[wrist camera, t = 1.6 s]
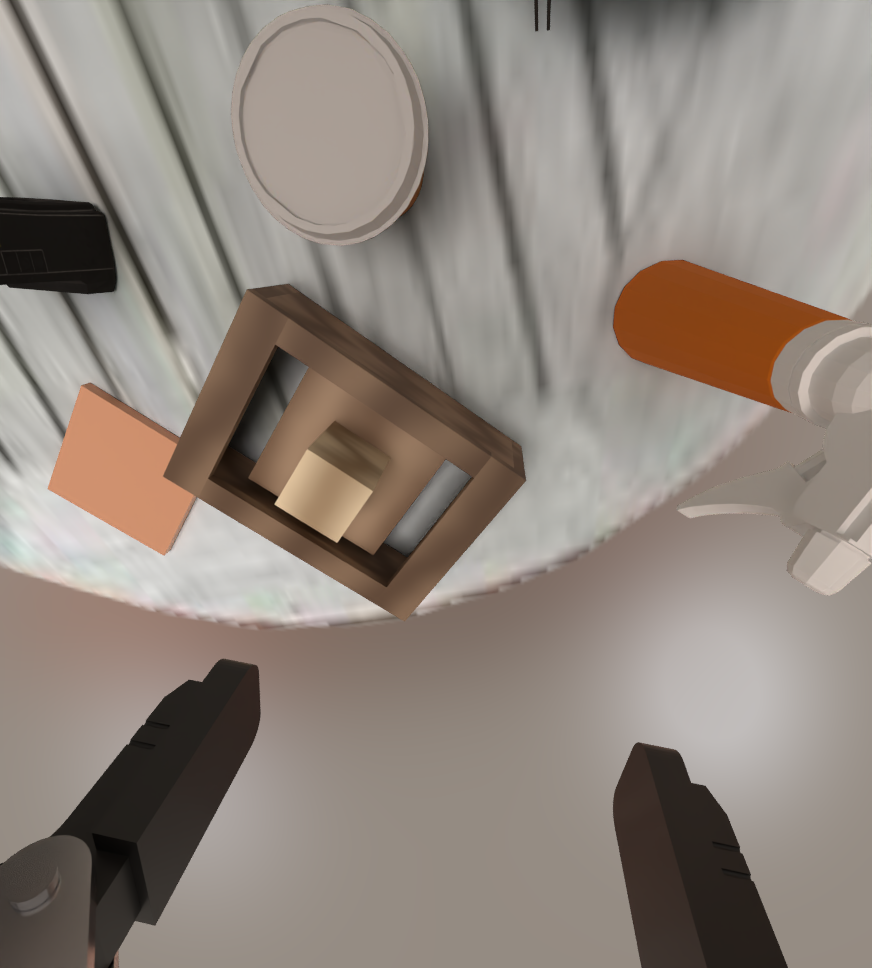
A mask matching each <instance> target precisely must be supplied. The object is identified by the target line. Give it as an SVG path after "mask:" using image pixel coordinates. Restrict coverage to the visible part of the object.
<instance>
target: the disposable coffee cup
mask: <svg viewBox="0 0 872 968" xmlns="http://www.w3.org/2000/svg"><path fill="white" fill-rule="evenodd" d="M231 119H232V128H233V135H234V141H235V146H236V150H237V153H238V156H239V159H240V162H241V165H242V167H243V170H244V172H245V174H246V177H247V179H248V181H249V183H250V185H251V187H252V189H253V191H254V192H255V194H256V195H257V197H258V198H259V200H260V201H261V203H262V204H263V206H264V207H265V208H266V209H267V210H268V211H269V212H270V213H271V215H272V216H273V217H274V218H275V219H276V220H277V221H279V222H280V223H281V224H282V225H284V226H285V227H286V228H287V229H289V230H290V231H292V232H294V233H296V234H297V235H299V236H301V237H303V238H305V239H308V240H311V241H314V242H317V243H320V244H328V245H340V246H343V245H349V244H355V243H360V242H363V241H365V240H368V239H371V238H373V237H375V236H377V235H378V234H380V233H381V232H383V231H384V230H386V229H387V228H388V227H389V226H391V225H392V224H393V223H394V222H395V221H396V220H397V219H398V218H399V217H400V216H402V215H403V214H404V213H406V212H407V211H408V210H409V209H410V208H411V207H412V206H413V204H414V202H415V201H416V199H417V197H418V195H419V192H420V190H421V187H422V182H423V176H424V167H425V163H426V158H427V154H428V118H427V112H426V105H425V100H424V97H423V93H422V90H421V86H420V83H419V80H418V78H417V75H416V73H415V71H414V69H413V67H412V64H411V63H410V61H409V60H408V58H407V56H406V55H405V53H404V51H403V50H402V49H401V47H400V46H399V45H398V44H397V43H396V41H395V40H394V39H393V38H392V36H391V35H390V34H389V33H388V32H387V31H386V30H384V29H383V28H382V27H381V26H379V25H378V24H377V23H375V22H374V21H373V20H372V19H370V18H368V17H366V16H364V15H362V14H360V13H358V12H356V11H354V10H352V9H349V8H344V7H338V6H333V5H328V4H327V5H315V6H306V7H303V8H299V9H296V10H292V11H289V12H287V13H284V14H282V15H280V16H278V17H277V18H275V19H274V20H273V21H272V22H270V23H269V24H268V25H266V26H265V27H264V28H263V29H262V30H261V31H260V32H259V33H258V35H257V36H256V37H255V38H254V40H253V41H252V42H251V43H250V45H249V47H248V48H247V50H246V52H245V54H244V56H243V57H242V60H241V63H240V65H239V68H238V71H237V73H236V77H235V82H234V87H233V92H232V106H231Z"/></svg>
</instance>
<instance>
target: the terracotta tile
mask: <svg viewBox="0 0 872 968" xmlns="http://www.w3.org/2000/svg"><path fill="white" fill-rule="evenodd" d="M179 439H180V438H179V437H177V436H176V435H174V434H172V433H171V432H169V431H168V430H166V429H164V428H163V427H161V426H159V425H158V424H156V423H155V422H153V421H151V420H150V419H148V418H146V417H145V416H143V415H142V414H140V413H138V412H137V411H135V410H134V409H132V408H130V407H129V406H127V405H125V404H124V403H122V402H121V401H119V400H117V399H116V398H114V397H112V396H111V395H109V394H108V393H106V392H104V391H103V390H101V389H99V388H98V387H96V386H95V385H93V384H91V383H88V384H85V385H82V386H81V388H80V391H79V394H78V397H77V400H76V403H75V407H74V410H73V413H72V416H71V419H70V422H69V425H68V428H67V431H66V434H65V437H64V440H63V443H62V446H61V449H60V452H59V456H58V459H57V462H56V465H55V468H54V471H53V474H52V477H51V480H50V483H49V486H48V489H49V490H50V491H52V492H54V493H56V494H57V495H59V496H61V497H63V498H64V499H66V500H68V501H70V502H71V503H73V504H75V505H76V506H78V507H80V508H82V509H83V510H85V511H87V512H89V513H90V514H92V515H94V516H96V517H97V518H99V519H101V520H103V521H104V522H106V523H108V524H110V525H111V526H113V527H115V528H117V529H118V530H120V531H122V532H124V533H125V534H127V535H129V536H131V537H132V538H134V539H136V540H138V541H139V542H141V543H143V544H145V545H146V546H148V547H150V548H152V549H153V550H155V551H157V552H159V553H160V554H162V555H165V554H166V553H168V552H169V551H170V550H171V548H172V546H173V544H174V542H175V540H176V538H177V536H178V534H179V532H180V530H181V528H182V526H183V524H184V522H185V520H186V518H187V516H188V514H189V512H190V510H191V508H192V506H193V504H194V502H195V500H196V498H197V497H196V496H194V495H193V494H191V493H189V492H188V491H186V490H184V489H183V488H181V487H179V486H178V485H176V484H174V483H173V482H171V481H169V480H168V479H166V478H164V477H163V475H164V472H165V470H166V468H167V466H168V464H169V461H170V459H171V457H172V455H173V452H174V450H175V448H176V446H177V444H178V441H179Z"/></svg>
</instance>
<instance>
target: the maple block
mask: <svg viewBox="0 0 872 968" xmlns="http://www.w3.org/2000/svg"><path fill="white" fill-rule="evenodd" d="M390 458H391V457H389V456H388V455H386V454H385V453H383V452H382V451H380V450H379V449H377V448H375V447H374V446H372V445H371V444H369V443H368V442H366V441H365V440H363V439H362V438H360V437H359V436H357V435H356V434H354V433H353V432H351V431H350V430H348V429H347V428H345V427H344V426H342V425H341V424H339V423H337V422H336V421H334V422H333V423H332V424H331V425H330V426H329V427H328V428H327V429H326V430H325V431H324V432H323V433H322V434H321V435H320V436H319V437H318V438H317V439H316V441H315V442H314V443H313V444H312V445H311V446H310V447H309V448H308V449H307V450H306V452H305V454H304V455H303V457H302V459H301V460H300V462H299V464H298V465H297V467H296V469H295V471H294V472H293V474H292V476H291V477H290V479H289V481H288V482H287V484H286V486H285V487H284V489H283V491H282V492H281V494H280V496H279V497H278V499H277V501H276V502H275V504H274V505H276V506H278V507H279V508H281V509H283V510H284V511H286V512H287V513H289V514H291V515H292V516H294V517H296V518H297V519H299V520H300V521H302V522H304V523H305V524H307V525H309V526H310V527H312V528H314V529H315V530H317V531H318V532H320V533H322V534H323V535H325V536H327V537H328V538H330V539H331V540H333V541H335V542H336V543H337V542H338V541H339V539H340V538H341V537H342V535H343V534H344V532H345V531H346V529H347V528H348V527H349V525H350V524H351V522H352V521H353V519H354V518H355V517H356V515H357V514H358V512H359V511H360V509H361V508H362V507H363V505H364V504H365V502H366V501H367V499H368V498H369V497H370V495H371V494H372V492H373V491H374V489H375V487H376V485H377V483H378V481H379V479H380V477H381V475H382V473H383V471H384V469H385V467H386V465H387V463H388V461H389V459H390Z"/></svg>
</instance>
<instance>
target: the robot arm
mask: <svg viewBox="0 0 872 968" xmlns="http://www.w3.org/2000/svg"><path fill="white" fill-rule="evenodd" d="M259 721H260V690H259V670H258V667H257V666H256V665H253V664H248V663H243V662H238V661H233V660H228V659H221V660H219V661H218V662H217V663H216V664H215V665H214V667H213V668H212V669H211V671H210V672H209V674H208V675H207V676H206V678H205V679H204V680H203V682H198V681H193V680H188V681H187V682H185V683H184V684H182V685H181V686H180V687H178V688H177V689H176V690H174V691H173V692H171V693H170V694H168V695H167V696H165V697H164V698H163V700H162V701H161V702H160V703H159V705H158V706H157V707H156V709H155V710H154V711H153V712H152V713H151V715H150V716H149V717H148V719H147V720H146V723H145V725H142V726H141V727H140V728H139V730H138V731H137V732H136V734H135V735H134V736H133V737H132V739H131V741H130V743H129V745H126V746H125V747H124V748H123V750H122V751H121V752H120V754H119V755H118V756H117V757H116V759H115V760H114V761H113V762H112V764H111V765H110V766H109V767H108V769H107V770H106V771H105V772H104V774H103V775H102V776H101V777H100V779H99V780H98V781H97V782H96V784H95V785H94V786H93V787H92V789H91V790H90V791H89V792H88V794H87V795H86V796H85V797H84V799H83V800H82V801H81V802H80V804H79V805H78V806H77V807H76V809H75V810H74V811H73V812H72V814H71V815H70V816H69V817H68V819H67V820H66V821H65V822H64V823H63V824H62V826H61V827H60V828H59V829H58V830H57V831H56V832H55V833H54V834H52V835H51V836H50V837H48V838H45V839H42V840H39V841H37V842H35V843H32V844H30V845H28V846H27V847H25V848H23V849H21V850H20V851H18V852H17V853H16V854H14V855H13V856H11V857H10V858H9V859H8V860H7V861H5V862H4V863H1V864H0V968H119V951H118V949H119V948H120V946H121V944H122V942H123V941H124V939H125V937H126V935H127V934H128V932H129V930H130V928H131V927H132V925H133V923H134V921H138V922H142V923H147V924H151V925H156V923H157V921H158V919H159V917H160V916H161V914H162V912H163V910H164V908H165V906H166V904H167V903H168V901H169V899H170V897H171V895H172V893H173V891H174V890H175V888H176V885H177V884H178V882H179V880H180V878H181V876H182V875H183V873H184V871H185V869H186V867H187V865H188V863H189V862H190V860H191V858H192V856H193V854H194V852H195V850H196V848H197V846H198V845H199V843H200V841H201V839H202V837H203V835H204V833H205V831H206V830H207V828H208V826H209V824H210V822H211V820H212V819H213V817H214V815H215V813H216V811H217V809H218V807H219V805H220V803H221V802H222V799H223V798H224V796H225V794H226V792H227V791H228V789H229V787H230V785H231V783H232V781H233V779H234V777H235V776H236V774H237V772H238V770H239V768H240V766H241V764H242V763H243V761H244V759H245V757H246V755H247V753H248V751H249V749H250V748H251V746H252V743H253V741H254V739H255V736H256V733H257V730H258V726H259ZM613 816H614V817H613V818H614V825H615V831H616V836H617V841H618V846H619V852H620V857H621V862H622V867H623V872H624V878H625V882H626V888H627V894H628V899H629V904H630V909H631V914H632V920H633V925H634V930H635V935H636V940H637V946H638V951H639V957H640V961H641V967H642V968H788V967H787V964H786V962H785V959H784V956H783V954H782V951H781V949H780V946H779V944H778V941H777V939H776V937H775V934H774V931H773V929H772V926H771V924H770V921H769V919H768V916H767V914H766V912H765V909H764V906H763V904H762V901H761V899H760V896H759V894H758V891H757V889H756V887H755V884H754V882H753V881H751V879H750V875H751V874H750V871H749V869H748V866H747V864H746V861H745V859H744V856H743V854H741V853H740V846H739V844H738V842H737V839H736V836H735V834H734V831H733V829H732V826H731V824H730V821H729V819H728V816H727V814H726V813H725V812H724V811H723V809H722V808H721V806H720V805H719V804H718V803H717V801H716V799H715V798H714V797H713V795H712V794H711V793H710V791H709V790H708V789H707V787H706V786H703V785H699V784H693V783H691V781H690V778H689V776H688V773H687V770H686V767H685V764H684V762H683V759H682V757H681V755H680V754H679V752H678V751H676V750H674V749H669V748H664V747H659V746H654V745H649V744H644V743H639V742H638V743H636V744H635V745H634V747H633V749H632V751H631V753H630V756H629V758H628V760H627V763H626V765H625V768H624V770H623V772H622V775H621V777H620V779H619V782H618V784H617V787H616V789H615V793H614V800H613Z"/></svg>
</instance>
